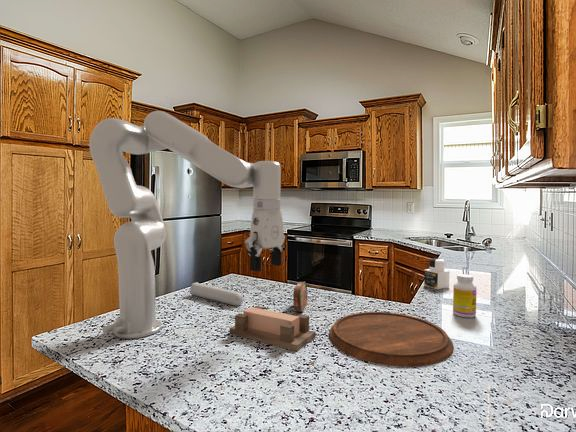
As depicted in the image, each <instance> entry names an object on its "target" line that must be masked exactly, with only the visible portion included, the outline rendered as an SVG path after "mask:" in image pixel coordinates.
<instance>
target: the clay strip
mask: <svg viewBox="0 0 576 432" xmlns="http://www.w3.org/2000/svg"><path fill="white" fill-rule="evenodd" d="M254 307H255V306H251V307H249V308H247V309H245V310H243V314H245V315H248V328H252V329H256V330H260V331H264V332H268V333H272V334H276V335H280V325H282V324H284V323H286V324H290V325H294V336H296V335H297V334H299V317H298V315H292V314H289V313H288V314H287V313H282V312H278V311H272V310H268V309H265V310H264V309H259V308H254Z"/></svg>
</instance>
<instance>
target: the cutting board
mask: <svg viewBox="0 0 576 432" xmlns="http://www.w3.org/2000/svg"><path fill="white" fill-rule="evenodd" d="M328 336H329V337H328V338H329V340H330V342H331V343H332V345H334V346H335V347H336V348H337V349H338V350H339V351H341V352H344V353H345V354H347V355H348V356H350V357H353V358H356V359H359V360H363V361H366V362H369V363H372V364H374V363H375V364H378V365H384V366H390V367H393V366H394V367H409V368H410V367H412V368H413V367H423V366H430V365H434V364H437V363H441V362H443V361H445V360H447V359H448V358H450V357H451V355H453V353H454V347H455V346H454V343H453V341H452V339H451V338H450V336H449V335H448V334H447V332H446V330H444V329H443V328H442V327H440V326H438V325H436V324H434V323H433V322H430V321H428V320H425V319H422V318H420V317H416V316H412V315H407V314H402V313H396V312H386V311H385V312H384V311H383V312H382V311H366V312H365V311H364V312H357V313H352V314H347V315H344V316H342V317H341V318H338V319H337V320H336V321H335V322H334V324H333V325H332V326H331V328H330V329H329V331H328Z"/></svg>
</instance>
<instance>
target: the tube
mask: <svg viewBox="0 0 576 432" xmlns="http://www.w3.org/2000/svg"><path fill="white" fill-rule="evenodd" d="M189 294H190V295H192V296H196V297H199V298H202V299H207V300H210V301H211V300H212V301H214V302H219V303H222V304H226V305H229V306H230V305H231V306H234V307H239V306H240V305H242V304H243V303H244V301H245V300H244V297H243V294H242V293H240V292H237V291H235V290H229V289H225V288H220V287H218V286H217V287H216V286H211V285H207V284H203V283H199V282H198V281H197V282H192V283H191V286H190V288H189Z"/></svg>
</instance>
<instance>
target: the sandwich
mask: <svg viewBox="0 0 576 432" xmlns="http://www.w3.org/2000/svg"><path fill="white" fill-rule="evenodd" d="M292 294H293V295H292V297H293V308H294V312H295V313H296V312H298V313H304V311H305V309H306V307H307V305H308V285H307V281H298V282H297V284H296V285H295V287H294V289H293V292H292Z"/></svg>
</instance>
